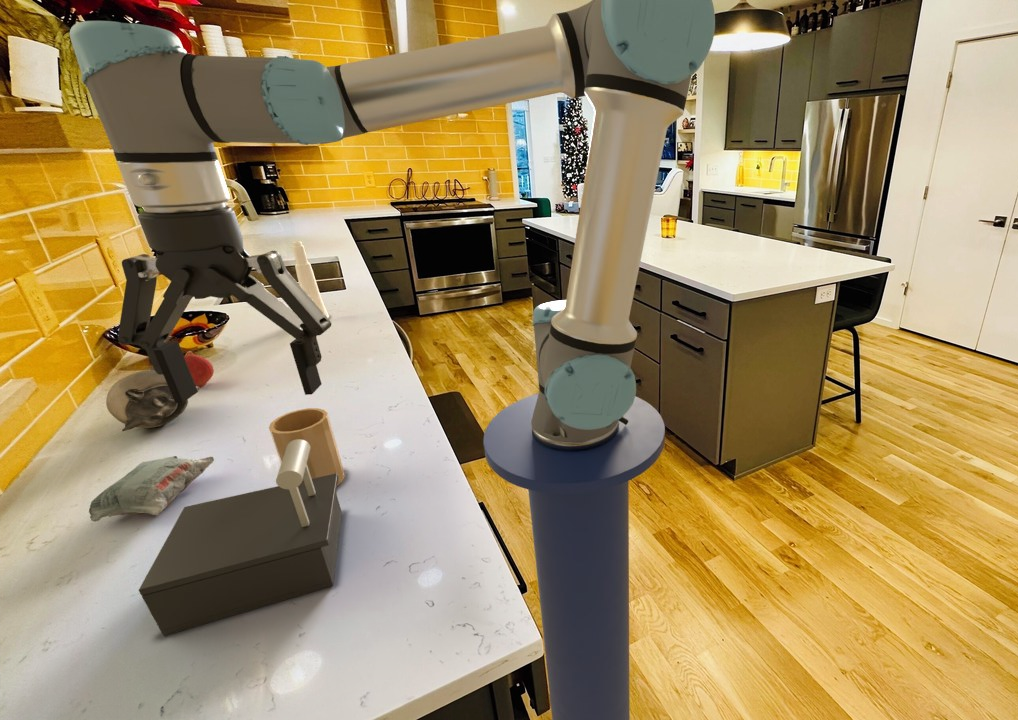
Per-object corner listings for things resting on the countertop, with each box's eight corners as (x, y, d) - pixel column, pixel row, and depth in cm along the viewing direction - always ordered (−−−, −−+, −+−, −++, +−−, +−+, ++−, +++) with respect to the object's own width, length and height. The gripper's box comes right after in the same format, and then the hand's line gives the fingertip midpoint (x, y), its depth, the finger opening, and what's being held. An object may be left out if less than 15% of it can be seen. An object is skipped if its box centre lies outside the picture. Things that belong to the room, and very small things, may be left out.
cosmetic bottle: (333, 315, 147) (314, 240, 139) (322, 322, 142) (302, 244, 133) (311, 315, 147) (291, 240, 138) (300, 322, 141) (278, 244, 133)
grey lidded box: (342, 513, 70) (332, 479, 67) (333, 585, 58) (320, 548, 56) (203, 548, 64) (186, 512, 61) (163, 636, 52) (141, 596, 50)
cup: (346, 464, 80) (329, 404, 76) (342, 490, 74) (324, 426, 70) (294, 475, 77) (274, 413, 73) (287, 503, 72) (264, 437, 67)
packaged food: (219, 472, 78) (207, 445, 76) (163, 525, 67) (148, 496, 65) (158, 476, 77) (144, 450, 75) (91, 531, 66) (73, 502, 64)
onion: (184, 395, 101) (169, 359, 98) (182, 386, 105) (168, 351, 102) (220, 387, 105) (207, 352, 101) (217, 378, 108) (204, 344, 105)
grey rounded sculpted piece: (208, 403, 98) (189, 354, 94) (181, 434, 88) (158, 381, 84) (144, 411, 95) (122, 362, 91) (108, 444, 85) (81, 390, 81)
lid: (338, 477, 68) (322, 422, 64) (329, 545, 56) (308, 482, 53) (186, 511, 61) (159, 452, 58) (141, 596, 50) (103, 528, 46)
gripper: (4, 214, 45) (105, 417, 54) (302, 209, 49) (352, 400, 57) (75, 204, 52) (155, 386, 61) (333, 201, 56) (373, 373, 64)
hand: (251, 393), depth 59 cm, fingers open, 13 cm apart
